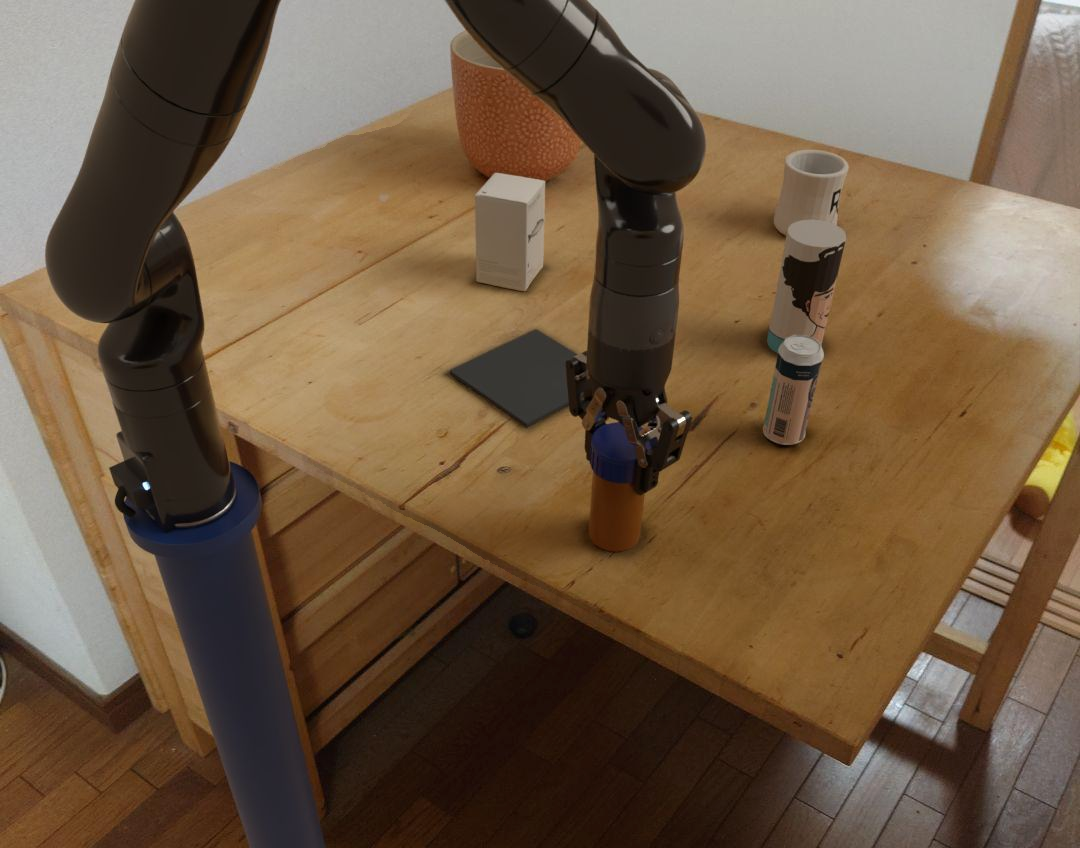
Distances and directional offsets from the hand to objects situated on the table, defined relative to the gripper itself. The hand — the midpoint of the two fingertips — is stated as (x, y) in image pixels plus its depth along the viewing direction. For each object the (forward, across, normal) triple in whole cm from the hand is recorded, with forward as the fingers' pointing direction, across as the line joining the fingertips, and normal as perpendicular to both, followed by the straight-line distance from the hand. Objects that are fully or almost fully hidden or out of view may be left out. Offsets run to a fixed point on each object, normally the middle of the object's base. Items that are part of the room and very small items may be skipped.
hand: (619, 473), depth 103 cm
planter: (+8, +70, -49) cm, 86 cm away
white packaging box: (+8, +46, -26) cm, 53 cm away
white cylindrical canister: (+8, +10, -42) cm, 44 cm away
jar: (+8, 0, 0) cm, 8 cm away
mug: (+8, +29, -69) cm, 75 cm away
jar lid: (-4, 0, 0) cm, 4 cm away
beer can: (+8, -1, -26) cm, 27 cm away
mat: (+8, +26, -12) cm, 30 cm away
